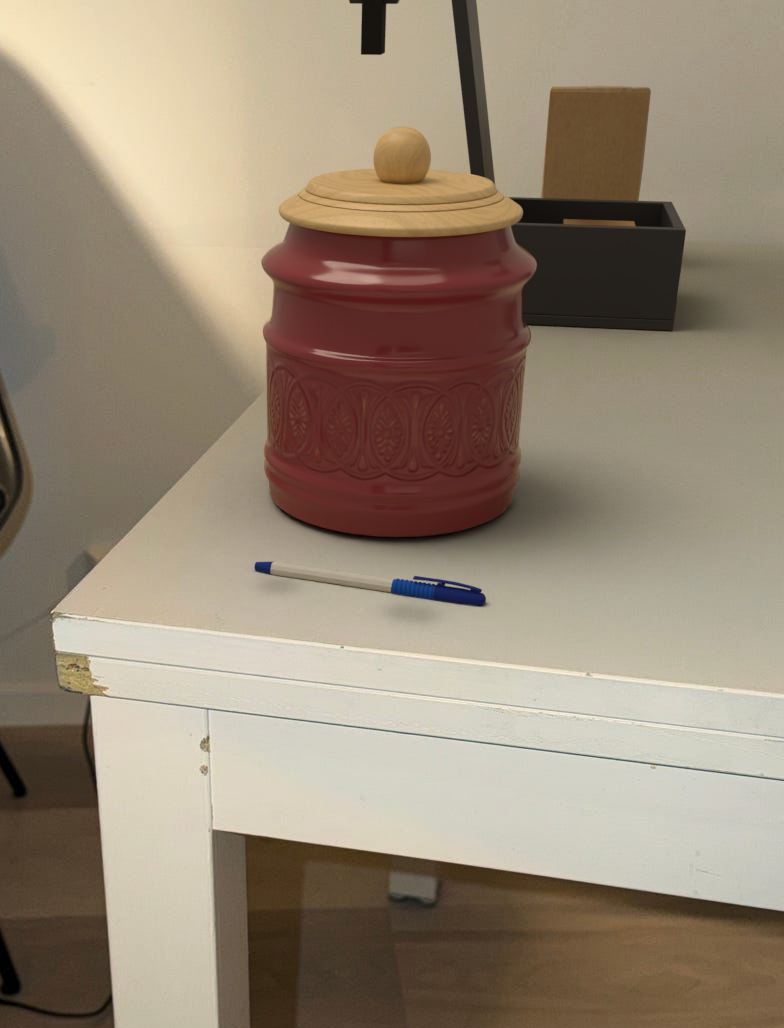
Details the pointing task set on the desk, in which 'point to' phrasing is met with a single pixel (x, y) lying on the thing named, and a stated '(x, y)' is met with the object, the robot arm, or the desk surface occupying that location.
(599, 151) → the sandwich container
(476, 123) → the black box cover
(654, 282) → the dark grey storage bin
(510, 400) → the kitchen canister
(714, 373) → the desk surface
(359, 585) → the ballpoint pen
